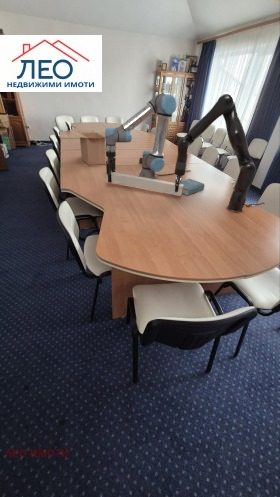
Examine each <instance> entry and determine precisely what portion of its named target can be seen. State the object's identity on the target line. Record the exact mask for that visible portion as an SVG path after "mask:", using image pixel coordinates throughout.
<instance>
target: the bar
mask: <svg viewBox="0 0 280 497" xmlns="http://www.w3.org/2000/svg"><path fill="white" fill-rule="evenodd" d="M104 175H105V176H104V177H105V183H110V184H114V185H120V186H124V187H125V186H126V187H130V188H137V189H142V190H145V191H146V190H147V191H152V192H157V193H162V194H169V195H173V196H177V197H182V195H183V194H182V191H183V186H184V184H179V187H178V192H175V182H172V181H166V180H161V179H156V178H155V179H150V178H144V177H139V175H138V176H137V175H132V174H127V173H120V172H112V171H111V179H112V182H108V174H106V172H105V174H104ZM176 185H177V184H176Z"/></svg>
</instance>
